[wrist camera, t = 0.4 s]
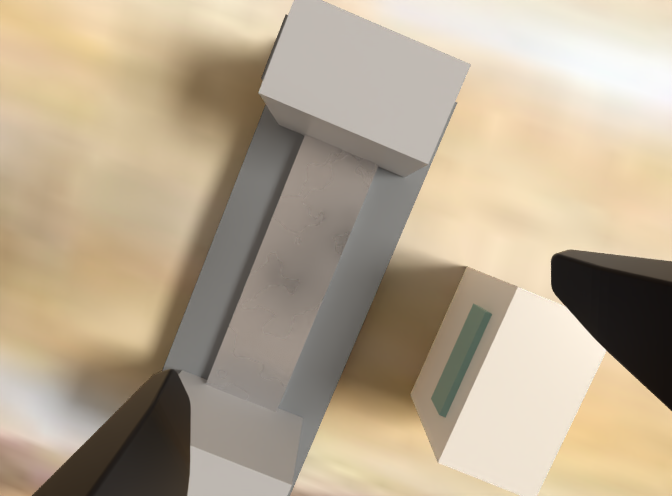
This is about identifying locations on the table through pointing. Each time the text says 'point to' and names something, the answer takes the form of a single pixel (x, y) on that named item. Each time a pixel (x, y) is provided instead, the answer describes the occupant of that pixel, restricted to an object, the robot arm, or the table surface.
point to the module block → (504, 382)
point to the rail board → (305, 241)
